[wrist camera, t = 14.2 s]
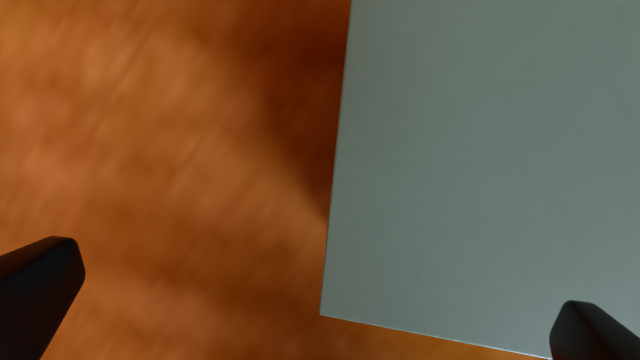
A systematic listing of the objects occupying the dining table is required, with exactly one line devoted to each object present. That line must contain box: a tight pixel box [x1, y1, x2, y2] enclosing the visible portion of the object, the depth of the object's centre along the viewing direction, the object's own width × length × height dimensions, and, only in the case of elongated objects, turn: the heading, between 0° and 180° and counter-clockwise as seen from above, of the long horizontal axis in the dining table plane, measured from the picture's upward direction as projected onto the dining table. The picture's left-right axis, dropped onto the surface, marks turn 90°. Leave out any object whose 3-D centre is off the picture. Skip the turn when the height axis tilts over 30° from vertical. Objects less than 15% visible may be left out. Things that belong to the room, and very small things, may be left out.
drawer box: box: [319, 0, 640, 360], centre depth 14 cm, size 10×12×7 cm
